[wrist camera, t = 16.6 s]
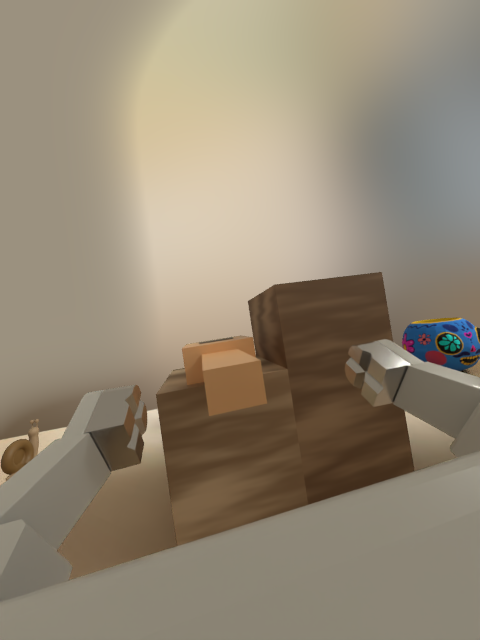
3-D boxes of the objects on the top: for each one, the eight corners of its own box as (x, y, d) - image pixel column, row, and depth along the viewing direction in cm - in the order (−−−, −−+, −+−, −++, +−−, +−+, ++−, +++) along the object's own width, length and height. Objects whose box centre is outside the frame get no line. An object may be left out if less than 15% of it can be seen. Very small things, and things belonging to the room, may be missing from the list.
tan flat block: (294, 397, 16) (285, 339, 16) (177, 423, 14) (168, 358, 14) (244, 362, 33) (240, 334, 33) (190, 371, 32) (186, 343, 32)
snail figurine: (63, 488, 36) (54, 415, 36) (34, 522, 30) (23, 433, 30) (25, 498, 35) (15, 422, 35) (-14, 535, 29) (-25, 442, 29)
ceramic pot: (448, 383, 55) (438, 324, 55) (393, 369, 73) (385, 325, 73) (509, 371, 57) (499, 314, 57) (441, 361, 74) (433, 317, 75)
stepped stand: (416, 483, 27) (381, 272, 27) (179, 562, 22) (142, 300, 22) (342, 431, 40) (320, 291, 41) (187, 472, 35) (164, 312, 36)
